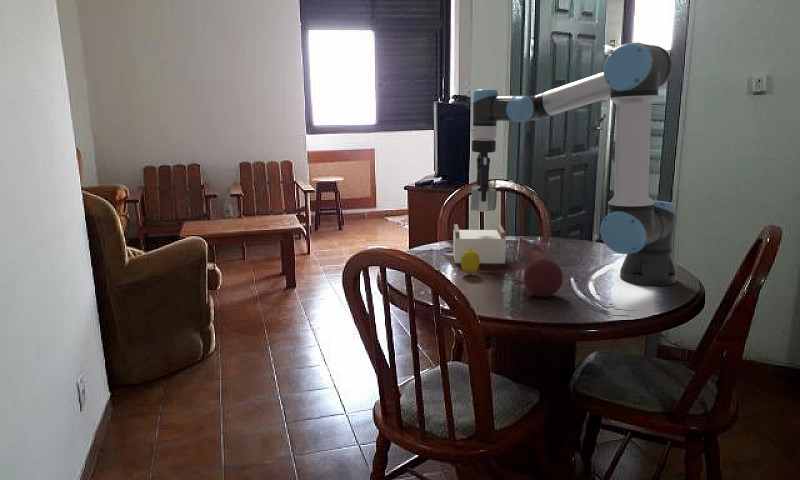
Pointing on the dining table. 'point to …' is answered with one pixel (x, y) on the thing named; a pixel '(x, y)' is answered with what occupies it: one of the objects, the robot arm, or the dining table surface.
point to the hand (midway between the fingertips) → (481, 208)
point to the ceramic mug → (491, 199)
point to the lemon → (470, 261)
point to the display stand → (480, 244)
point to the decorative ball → (543, 277)
